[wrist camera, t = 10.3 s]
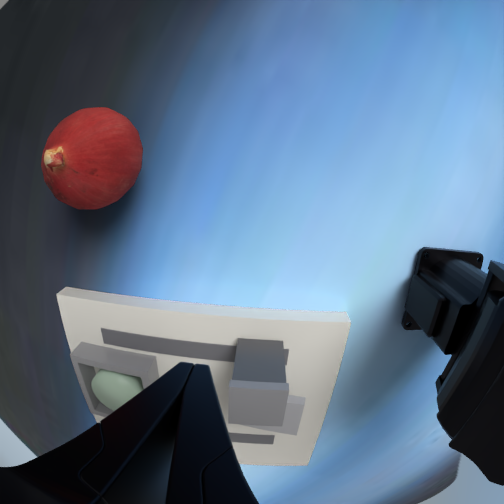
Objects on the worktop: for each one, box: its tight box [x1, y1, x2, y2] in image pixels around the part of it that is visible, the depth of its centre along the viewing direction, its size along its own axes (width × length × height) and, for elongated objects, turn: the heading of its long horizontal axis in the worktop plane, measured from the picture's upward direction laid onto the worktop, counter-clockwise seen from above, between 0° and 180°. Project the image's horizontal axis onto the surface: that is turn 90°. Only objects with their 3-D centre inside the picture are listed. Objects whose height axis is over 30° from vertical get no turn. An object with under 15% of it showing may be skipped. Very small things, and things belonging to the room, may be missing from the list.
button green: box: [91, 368, 144, 411], centre depth 21 cm, size 4×4×2 cm
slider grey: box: [228, 338, 289, 426], centre depth 17 cm, size 3×3×5 cm
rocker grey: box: [239, 395, 306, 436], centre depth 19 cm, size 5×4×1 cm
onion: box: [41, 107, 143, 209], centre depth 14 cm, size 6×6×8 cm
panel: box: [56, 287, 351, 466], centre depth 22 cm, size 22×18×4 cm
